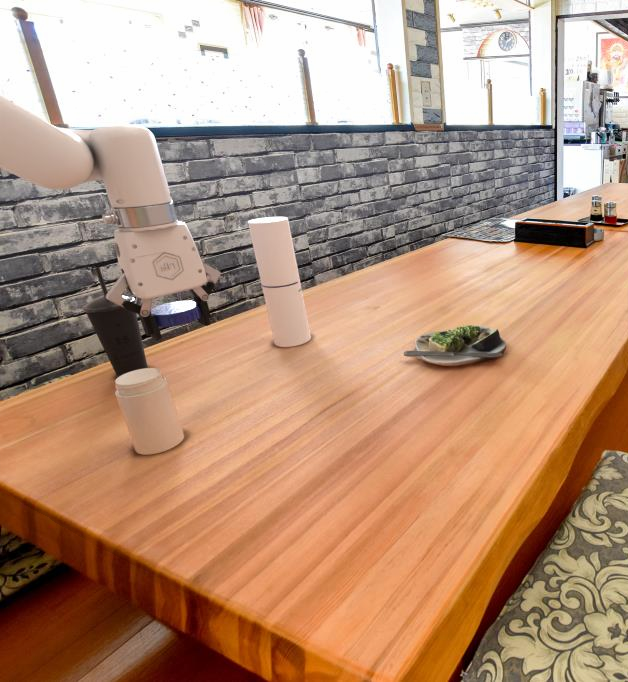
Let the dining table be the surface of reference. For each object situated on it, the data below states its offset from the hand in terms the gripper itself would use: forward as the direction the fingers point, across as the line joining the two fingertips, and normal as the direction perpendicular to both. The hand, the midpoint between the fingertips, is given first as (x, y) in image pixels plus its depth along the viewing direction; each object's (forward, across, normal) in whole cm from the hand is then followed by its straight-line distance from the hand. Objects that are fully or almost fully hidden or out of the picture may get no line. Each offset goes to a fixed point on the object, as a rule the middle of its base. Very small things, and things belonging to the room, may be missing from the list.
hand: (180, 329), depth 84 cm
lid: (-3, 0, 0) cm, 3 cm away
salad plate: (+12, +39, -24) cm, 47 cm away
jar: (+12, -10, -10) cm, 19 cm away
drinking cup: (+12, -4, +20) cm, 24 cm away
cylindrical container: (+12, +23, +10) cm, 28 cm away
